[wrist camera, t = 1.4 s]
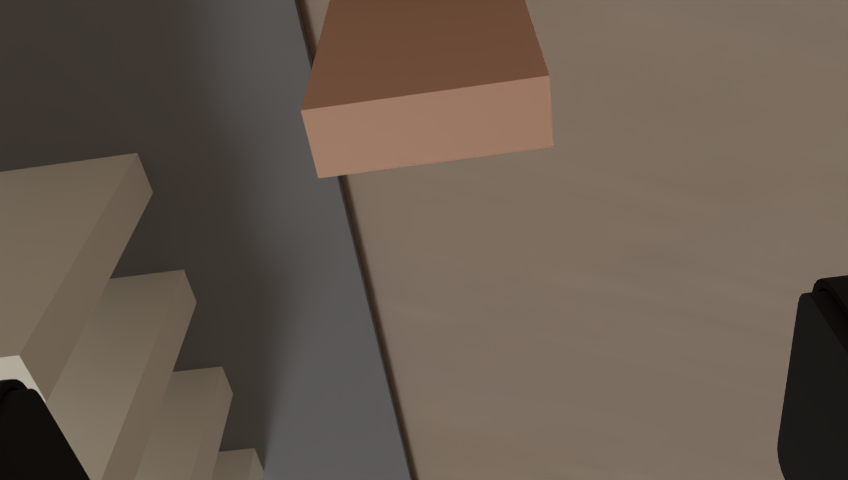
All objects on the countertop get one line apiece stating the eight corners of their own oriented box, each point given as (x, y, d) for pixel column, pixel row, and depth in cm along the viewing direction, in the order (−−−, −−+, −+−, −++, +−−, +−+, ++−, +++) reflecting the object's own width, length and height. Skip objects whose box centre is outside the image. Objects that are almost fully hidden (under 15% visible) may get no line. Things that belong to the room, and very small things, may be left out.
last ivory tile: (137, 152, 28) (19, 354, 19) (153, 192, 29) (46, 402, 20) (-3, 172, 28) (-177, 378, 20) (17, 210, 29) (-141, 424, 21)
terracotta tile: (504, -61, 24) (549, 75, 16) (509, -9, 25) (554, 147, 17) (339, -36, 25) (300, 110, 16) (349, 15, 26) (318, 178, 17)
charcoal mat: (263, -141, 23) (260, -138, 22) (431, 555, 42) (431, 563, 41) (-293, -49, 24) (-306, -44, 24) (111, 585, 43) (108, 594, 42)
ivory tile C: (183, 269, 30) (97, 489, 22) (196, 302, 31) (118, 525, 23) (56, 285, 31) (-75, 507, 23) (72, 317, 32) (-48, 542, 24)
